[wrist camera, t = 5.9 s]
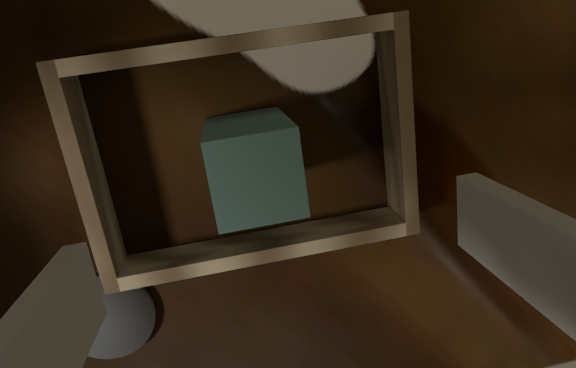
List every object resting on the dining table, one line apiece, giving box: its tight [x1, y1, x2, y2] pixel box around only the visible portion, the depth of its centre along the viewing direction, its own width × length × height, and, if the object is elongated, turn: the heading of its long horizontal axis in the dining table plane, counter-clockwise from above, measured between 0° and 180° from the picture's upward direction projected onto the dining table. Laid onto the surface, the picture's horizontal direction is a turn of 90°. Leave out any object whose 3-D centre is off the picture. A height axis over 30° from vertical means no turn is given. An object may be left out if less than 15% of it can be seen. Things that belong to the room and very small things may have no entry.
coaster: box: [88, 274, 156, 359], centre depth 33 cm, size 7×7×1 cm
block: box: [200, 107, 310, 234], centre depth 27 cm, size 5×5×9 cm
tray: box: [35, 10, 420, 295], centre depth 30 cm, size 22×15×4 cm
